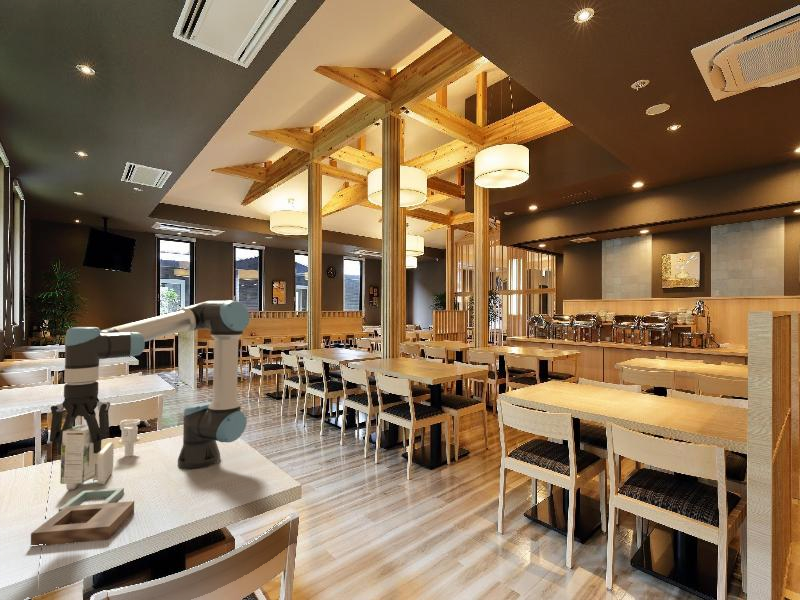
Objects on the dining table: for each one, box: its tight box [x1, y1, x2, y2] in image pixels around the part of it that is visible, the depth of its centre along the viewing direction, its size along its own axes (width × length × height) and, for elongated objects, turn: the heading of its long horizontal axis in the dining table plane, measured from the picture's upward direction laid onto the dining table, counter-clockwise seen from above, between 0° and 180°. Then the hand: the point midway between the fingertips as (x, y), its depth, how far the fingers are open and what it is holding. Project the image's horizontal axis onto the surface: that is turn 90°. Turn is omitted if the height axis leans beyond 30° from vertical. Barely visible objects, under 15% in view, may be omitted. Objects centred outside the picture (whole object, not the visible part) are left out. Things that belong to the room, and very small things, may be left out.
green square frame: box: [58, 487, 125, 512], centre depth 124 cm, size 12×12×2 cm
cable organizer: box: [65, 441, 115, 491], centre depth 140 cm, size 15×11×12 cm
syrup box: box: [59, 423, 96, 485], centre depth 110 cm, size 6×6×14 cm
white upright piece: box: [118, 419, 141, 457], centre depth 165 cm, size 7×7×15 cm
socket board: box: [30, 500, 135, 546], centre depth 110 cm, size 18×14×4 cm
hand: (79, 465), depth 110 cm, fingers closed on syrup box, 6 cm apart
